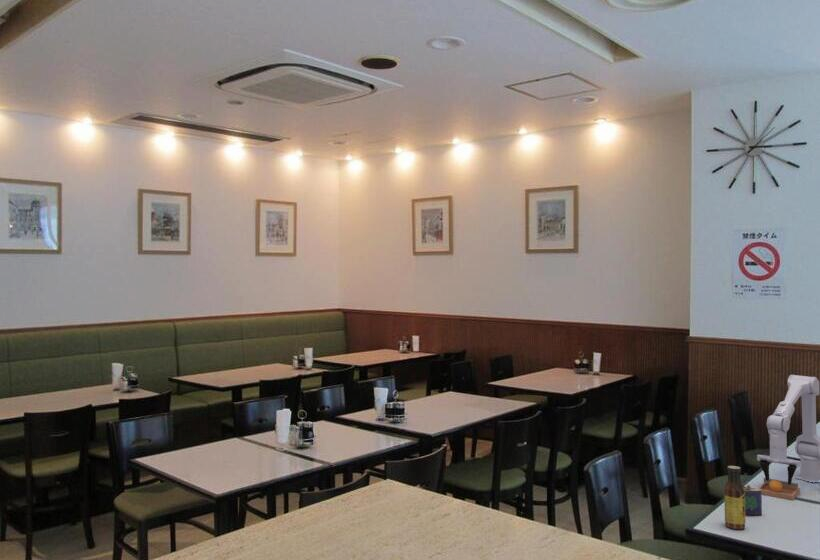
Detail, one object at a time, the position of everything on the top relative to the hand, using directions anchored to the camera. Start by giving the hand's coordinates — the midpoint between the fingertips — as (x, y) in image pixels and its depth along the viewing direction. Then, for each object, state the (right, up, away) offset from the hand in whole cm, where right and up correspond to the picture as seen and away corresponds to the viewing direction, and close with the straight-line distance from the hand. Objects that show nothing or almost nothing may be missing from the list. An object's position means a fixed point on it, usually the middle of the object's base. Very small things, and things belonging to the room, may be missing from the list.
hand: (778, 482), depth 257 cm
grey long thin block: (+4, -4, +6) cm, 8 cm away
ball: (-1, -2, 0) cm, 2 cm away
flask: (-23, -5, -23) cm, 33 cm away
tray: (0, -4, 0) cm, 4 cm away
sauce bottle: (-34, -5, -34) cm, 48 cm away
